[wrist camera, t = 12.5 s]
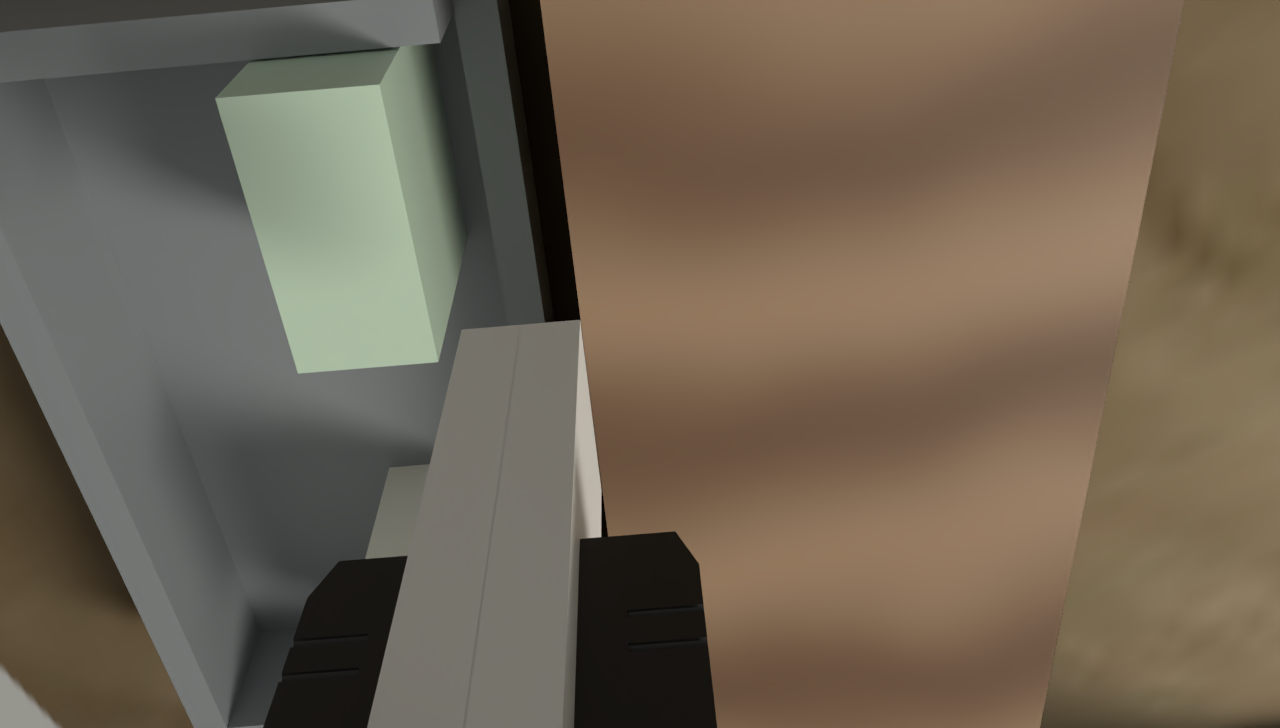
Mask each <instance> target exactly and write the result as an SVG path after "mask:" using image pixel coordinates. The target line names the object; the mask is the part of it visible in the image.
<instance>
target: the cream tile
mask: <svg viewBox="0 0 1280 728" xmlns="http://www.w3.org/2000/svg"><path fill="white" fill-rule="evenodd" d="M429 465H430V464H425V465H413V466H401V467H389V471H388V475H387V478H386V482H385V486H384V490H383V493H382V497H381V501H380V505H379V509H378V512H377V516H376V520H375V524H374V527H373V531H372V535H371V539H370V542H369V546H368V550H367V554H366V557H365V559H371V558H384V557H396V556H408V553H409V549H410V545H411V541H412V537H413V532H414V528H415V524H416V520H417V515H418V511H419V507H420V503H421V499H422V494H423V490H424V486H425V482H426V478H427V473H428V469H429Z"/></svg>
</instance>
